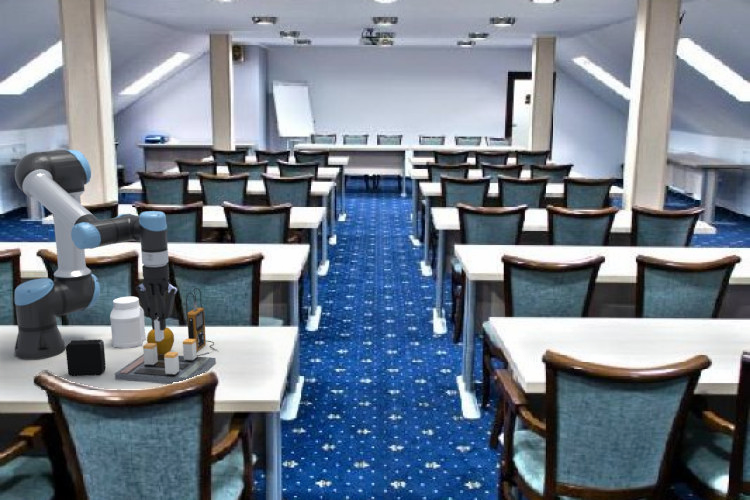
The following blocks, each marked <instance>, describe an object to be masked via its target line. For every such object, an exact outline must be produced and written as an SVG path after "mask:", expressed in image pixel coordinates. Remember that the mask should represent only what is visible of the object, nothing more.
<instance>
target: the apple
mask: <svg viewBox="0 0 750 500" xmlns="http://www.w3.org/2000/svg"><path fill="white" fill-rule="evenodd" d="M174 335H175V334H174V332H173V331H172V330H171V329H170V328H169V327H167V326H166V329H164V339H163V340H161V341H155V330H153V329H151V330H149V332H148V334H147V335H146V342H147V343H156V344H157V354H166V353H168V352H172V349H173V346H174V341H175V336H174ZM147 343H146V344H147Z"/></svg>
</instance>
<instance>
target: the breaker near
mask: <svg viewBox="0 0 750 500" xmlns="http://www.w3.org/2000/svg"><path fill="white" fill-rule="evenodd" d="M178 355H179V352H177V351H170V352H168V353H166V354H165V355H164V359H165V373H166V374H176V373H177V372H179V359H178Z"/></svg>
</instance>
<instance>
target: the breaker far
mask: <svg viewBox="0 0 750 500" xmlns="http://www.w3.org/2000/svg"><path fill="white" fill-rule="evenodd" d="M182 352H183V356H184V360H194V359H195V358H196V357H198V356H197V355H198V354H197V353H198V351H196V339H189V338H186V339H184V340H183V341H182Z"/></svg>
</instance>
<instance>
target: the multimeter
mask: <svg viewBox="0 0 750 500" xmlns="http://www.w3.org/2000/svg"><path fill="white" fill-rule="evenodd" d="M195 290H198V291H199V297H200V301H199V302H200V303H202V294H201V293H202V291H201V290H200V288H197V287H195V288H194V289H193V293H192V292H189V293H187V295H186V300H185V302H186V303H185V305H186V306H185V308H186V320H187V333H188V335H187V336H188V337H187V339H196V352H199V350H201V349H202V348H203V347H205V346H206V342H210V343H212V344H210V345H209V347H210V348H211V349H212V351H206V352H203V353H200V354H197V357H201V356H206V355H208V354H210V353H213V352H214V351H216V352H218V353H219V350H218V349H217V348H215V347H212V346H214V345H215V342H214V341H212V340H211V341H209V340H206V339H207V338H206V323H205V322H206V321H205V308H204V307H202V304H200V307H198V305H197V298H196V297H197V296H196V291H195ZM190 294H191V295H192V296H193V298H194V299H193V309H191V310H190V311H188V296H189V295H190Z"/></svg>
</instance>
